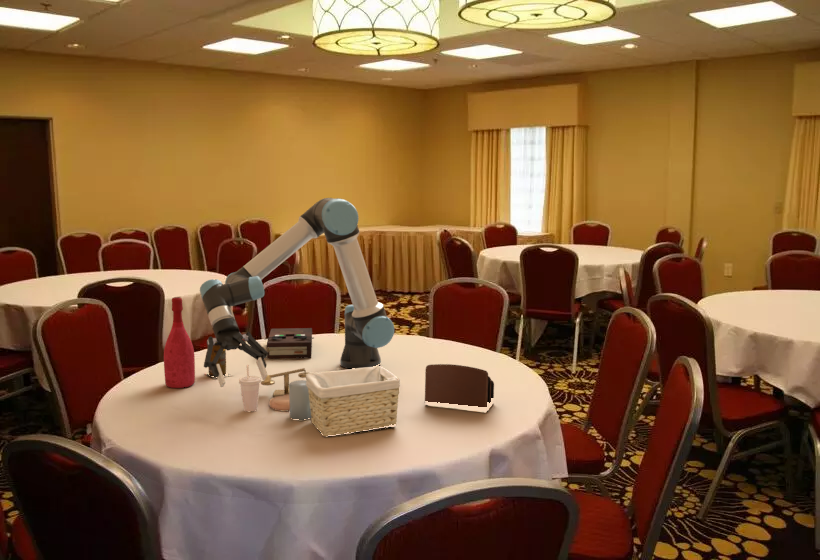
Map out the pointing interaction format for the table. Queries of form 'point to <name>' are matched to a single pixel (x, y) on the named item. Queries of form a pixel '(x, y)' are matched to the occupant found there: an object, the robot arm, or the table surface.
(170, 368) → the wine bottle
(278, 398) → the dish
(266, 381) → the balance
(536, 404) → the table surface
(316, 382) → the storage basket
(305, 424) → the table surface
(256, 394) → the smoothie
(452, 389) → the toaster
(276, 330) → the dark electronic device
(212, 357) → the condiment
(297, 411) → the grey domed cylinder
